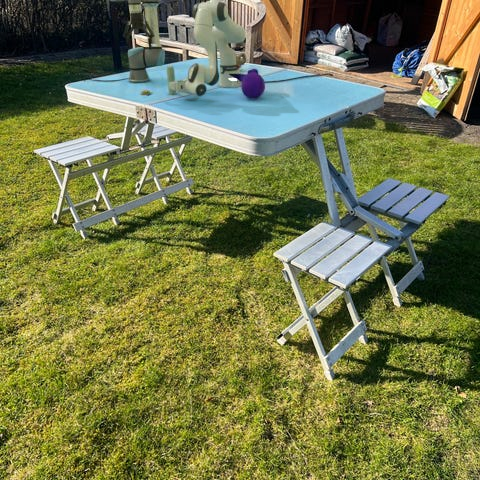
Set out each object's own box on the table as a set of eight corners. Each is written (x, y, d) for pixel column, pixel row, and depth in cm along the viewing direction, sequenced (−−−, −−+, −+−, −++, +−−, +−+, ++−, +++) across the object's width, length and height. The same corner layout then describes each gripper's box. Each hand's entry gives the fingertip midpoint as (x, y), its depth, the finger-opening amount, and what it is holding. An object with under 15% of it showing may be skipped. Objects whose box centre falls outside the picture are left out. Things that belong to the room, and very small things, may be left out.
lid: (147, 92, 305) (147, 89, 304) (151, 94, 301) (151, 91, 300) (140, 93, 302) (139, 90, 301) (143, 95, 298) (143, 92, 297)
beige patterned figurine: (226, 73, 360) (225, 53, 353) (219, 71, 369) (219, 51, 361) (249, 70, 370) (249, 50, 362) (242, 68, 378) (241, 49, 371)
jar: (175, 94, 298) (172, 67, 289) (168, 94, 299) (165, 67, 290) (176, 92, 302) (174, 65, 294) (169, 92, 303) (167, 66, 294)
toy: (250, 90, 302) (265, 104, 282) (225, 86, 295) (239, 99, 274) (256, 66, 294) (272, 78, 274) (231, 61, 287) (246, 73, 266)
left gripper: (114, 12, 275) (119, 50, 286) (153, 12, 271) (156, 50, 282) (119, 12, 282) (124, 48, 293) (157, 11, 278) (160, 48, 288)
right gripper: (204, 77, 279) (194, 74, 289) (174, 82, 270) (164, 78, 280) (204, 88, 282) (194, 84, 292) (175, 93, 273) (165, 89, 283)
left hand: (140, 49), depth 287 cm, fingers open, 13 cm apart
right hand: (179, 81), depth 286 cm, fingers open, 8 cm apart
